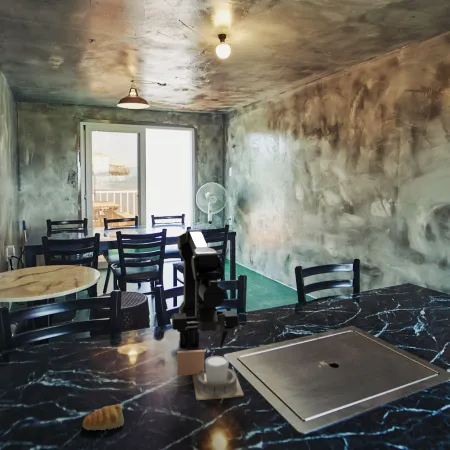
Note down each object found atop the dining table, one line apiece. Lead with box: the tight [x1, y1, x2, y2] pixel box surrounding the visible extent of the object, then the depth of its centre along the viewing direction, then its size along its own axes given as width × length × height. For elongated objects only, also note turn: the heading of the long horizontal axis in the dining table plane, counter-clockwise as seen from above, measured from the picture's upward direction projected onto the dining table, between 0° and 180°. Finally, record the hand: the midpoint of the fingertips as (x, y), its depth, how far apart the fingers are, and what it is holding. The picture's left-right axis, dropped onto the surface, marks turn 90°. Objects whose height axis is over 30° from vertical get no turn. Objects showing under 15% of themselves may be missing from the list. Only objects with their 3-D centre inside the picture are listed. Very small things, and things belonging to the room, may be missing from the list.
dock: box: [191, 367, 245, 401], centre depth 109 cm, size 13×13×3 cm
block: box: [176, 349, 205, 376], centre depth 114 cm, size 8×1×7 cm, turn 100°
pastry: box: [82, 403, 125, 432], centre depth 92 cm, size 9×7×4 cm
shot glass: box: [204, 355, 230, 384], centre depth 109 cm, size 7×7×7 cm
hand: (204, 348), depth 109 cm, fingers open, 9 cm apart
